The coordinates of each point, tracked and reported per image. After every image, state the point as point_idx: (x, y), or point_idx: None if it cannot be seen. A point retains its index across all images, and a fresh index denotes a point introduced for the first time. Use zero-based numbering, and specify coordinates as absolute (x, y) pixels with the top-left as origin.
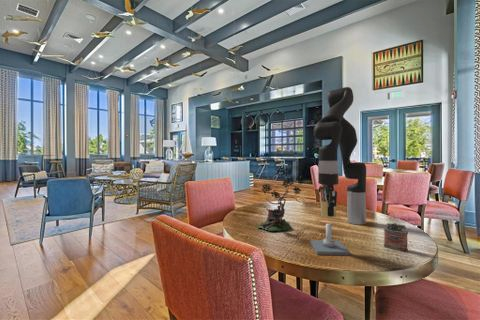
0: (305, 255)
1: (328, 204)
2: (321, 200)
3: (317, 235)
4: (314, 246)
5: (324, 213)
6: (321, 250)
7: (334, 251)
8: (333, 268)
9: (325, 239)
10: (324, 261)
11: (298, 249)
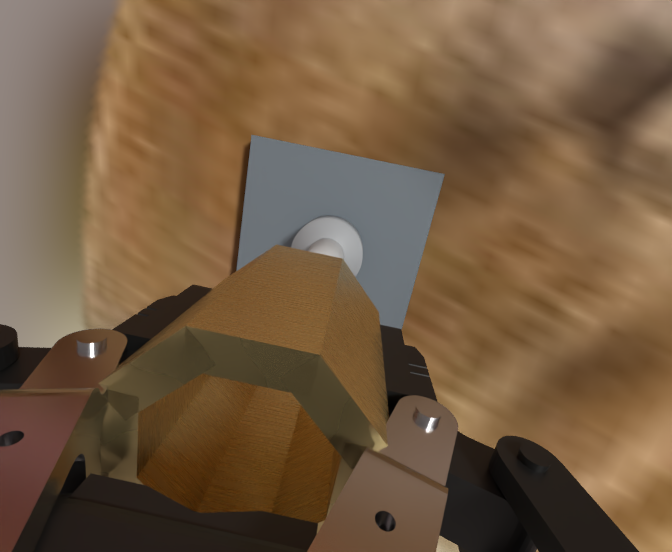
0: (251, 53)
1: (53, 352)
2: (302, 360)
3: (559, 283)
4: (328, 151)
5: (241, 271)
6: (262, 167)
7: (243, 235)
8: (96, 144)
9: (349, 244)
10: (170, 135)
11: (347, 40)
